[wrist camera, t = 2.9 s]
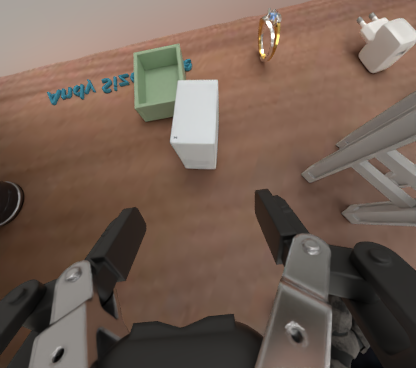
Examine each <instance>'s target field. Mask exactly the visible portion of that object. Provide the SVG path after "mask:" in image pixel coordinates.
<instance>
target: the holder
mask: <svg viewBox="0 0 416 368" xmlns="http://www.w3.org/2000/svg"><path fill="white" fill-rule="evenodd" d="M178 80H186V75H185V69H184V61H183V57H182V53H181V49H180V45H179V44H174V45H170V46H165V47H160V48H155V49H150V50H146V51H141V52H136V53H134V97H135V109H136V110H137V112H138V113H139V114H140V115H141V117H142V118H143V119H144V121H145V122H147V121H153V120H158V119H164V118H169V117H173V115H174V107H175V98H176V90H177V81H178Z"/></svg>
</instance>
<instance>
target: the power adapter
mask: <svg viewBox="0 0 416 368" xmlns="http://www.w3.org/2000/svg"><path fill="white" fill-rule="evenodd" d="M369 18H370V19H371V20H372V21H373V22H370V23H368V24H366V23H365V22H364V20H363V19H362V18H361V17H359V18H358V19H357V23H358V24H359V25H360V26H361V27H362V29H361V30H360V35H361V36H362V38H363V39H364V40H365V42H366V43H367V44H366V45H365V46H364V47H363V49H362V50H361V51H360V53H359V58H360V60H361V61H362V63H363V64H364V65H365V67H366V68H367V69H368V70H369V71H370V72H371V73H376V72H379V71H382V70H384V69H387V68H388V67H390V66H391V65H392V64H394V63H395V62H396V61H397V60H398V59H399V58H400V57H402V56H403V55H404V54H405V53H406V52H407V51H408V50H409V49H410V48H411V47H412V46H414V45H415V44H416V31H415V29H414V28H413V27H412V26H411V25H410V24H409V23H408V22H407V21H406V20H405V19H404V18H398V19H395V20H392V21H388V19H387V18H382V19H378V18H377V17H376V15H375V14H374V13H371V14H370V15H369Z"/></svg>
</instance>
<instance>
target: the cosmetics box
mask: <svg viewBox="0 0 416 368" xmlns="http://www.w3.org/2000/svg"><path fill="white" fill-rule="evenodd" d="M218 127H219V98H218V80H178V81H177V90H176V98H175V107H174V115H173V122H172V130H171V137H170V144H171V145H172V147H173V148H174V150H175V151H176V153H177V154H178V156H179V158H180V159H181V161H182V163H183V164H184V166H185V168H191V169H216V162H217V148H218Z"/></svg>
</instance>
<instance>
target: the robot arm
mask: <svg viewBox="0 0 416 368" xmlns="http://www.w3.org/2000/svg"><path fill="white" fill-rule="evenodd" d="M22 203H23V192H22V189H21V188H20V186H19V185H17V184H16V183H12V182H3V181H0V226H3V225H5V224H7V223H8V222H10V221H11V220H12V219H13V218H14V217H15V216H16V215H17V214H18V212H19V210H20V208H21V206H22ZM255 214H256V217H257V220H258V222H259V225H260V227H261V229H262V232H263V234H264V236H265V239H266V241H267V243H268V246H269V248H270V251H271V253H272V255H273V258H274V260H275V262H276V265H277V264H283V265H284V267H285V268H284V271H283V275H282V278H281V280H280V283H279V286H278V289H277V293H276V296H275V300H274V303H273V307H272V310H271V313H270V317H269V320H268V324H267V327H266V331H265V334H264V337H263V336H262V335H260V334H259V333H258V332H257V331H255V330H254V329H253V328H251V327H249V326H248V325H245V324H243V323H241V322H237V321H235V319H234V314H228V315H217V316H208V317H206V318H203V319H201V320H199V321H197V322H194V323H192V324H190V325H188V326H185V327H183V328H179V327H176V326H172V325H169V324H165V323H162V322H158V321H154V322H143V323H133V326H132V329H131V333H129V330H128V328H127V327H126V325H125V323H124V321H123V317H122V312H121V308H120V303H119V299H118V294H117V290H116V288H115V285H116V282H120V281H126V279H127V276H128V274H129V271H130V269H131V266H132V264H133V261H134V259H135V257H136V254H137V252H138V249H139V247H140V244H141V242H142V240H143V237H144V235H145V232H146V223H145V221H144V219H143V217H142V215H141V214H140V212H139V210H138V208H136V207H133V208H126V209H123V210H122V212H121V213H120V215H119V216H118V217H117V218H116V219H114V220H113V221H112V222H111V223H110V224H109V226H108V227H107V228H106V230H105V232H104V233H103V234H102V235H101V237H100V238H99V240H98V241H97V243H96V244H95V245H94V247H93V248H92V250H91V251H90V252H89V254H88V255H87V257H86V258H85V260H83V261H79V262H77V263H75V264H73V265H71V266H70V267H69V268H67V269H66V270H65V271H64V272H63V273H62V274H61V275H60V277H59V278H58V279H55V280H53V281H50V282H48V283H46V284H42V283H40V282H39V281H37V280H29V281H27V282H24V283H22V284H21V285H19V286H17V287H16V288H15V289H13V290H12V291H11V292H9V293H8V294H7V295H6V296H5V297H4V298H3V299H2V300H1V301H0V355H1V354H2V352H3V351H4V350H5V348H6V347H7V345H8V344H9V343H10V341H11V340H12V339H13V337H14V336H15V335H16V333H17V332H18V330H19V329H20V328H21V326H23V327H25V328H28V329H30V330H32V331H31V332H30V334H29V335H28V337H27V338H26V340H25V341H24V343H23V344H22V346H21V347H20V349H19V350H18V352H17V353H16V354H15V356H14V357H13V359H12V360H11V362H10V363H9V365H8V366H7V368H330V353H331V330H332V306H331V304H330V303H329V301H328V294H331V295H335V296H339V297H341V298H342V300H343V302H344V303H345V305H346V307H347V308H348V310H349V312H350V313H351V315H352V316H353V318H354V320H355V321H356V323H357V325H358V326H359V328H360V330H361V331H362V333H363V335H364V336H365V338H366V339H367V341H368V343H369V344H370V346H371V348H372V349H373V351H374V353H375V354H376V356H377V357H378V359H379V361H380V362H381V364H382V366H383V367H384V368H416V271H415V270H414V269H413V268H412V267H411V266H410V265H409V264H408V263H407V262H405V261H404V260H403V259H402V258H401V257H400V256H399V255H397V254H396V253H395V252H393V251H392V250H390V249H389V248H387V247H385V246H382V245H380V244H377V243H373V242H359V243H357V244H356V245H355V246H354V248H346V247H339V246H333V245H329V244H327V243H326V242H325V241H323V240H322V239H321V238H319V237H317V236H315V235H312V234H310V233H309V232H308V231H307V229H306V228H305V227H304V225H303V224H302V223H301V221H300V220H299V218H298V217H297V216H296V214H295V213H294V212H293V210H292V209H291V208H290V207H289V205H288V204H287V202H286V201H285V200H284V199H282V198H281V197H279V196H278V195H276V196H272V194H271V193H270V191H269V190H268V189H262V190H256V191H255Z"/></svg>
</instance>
